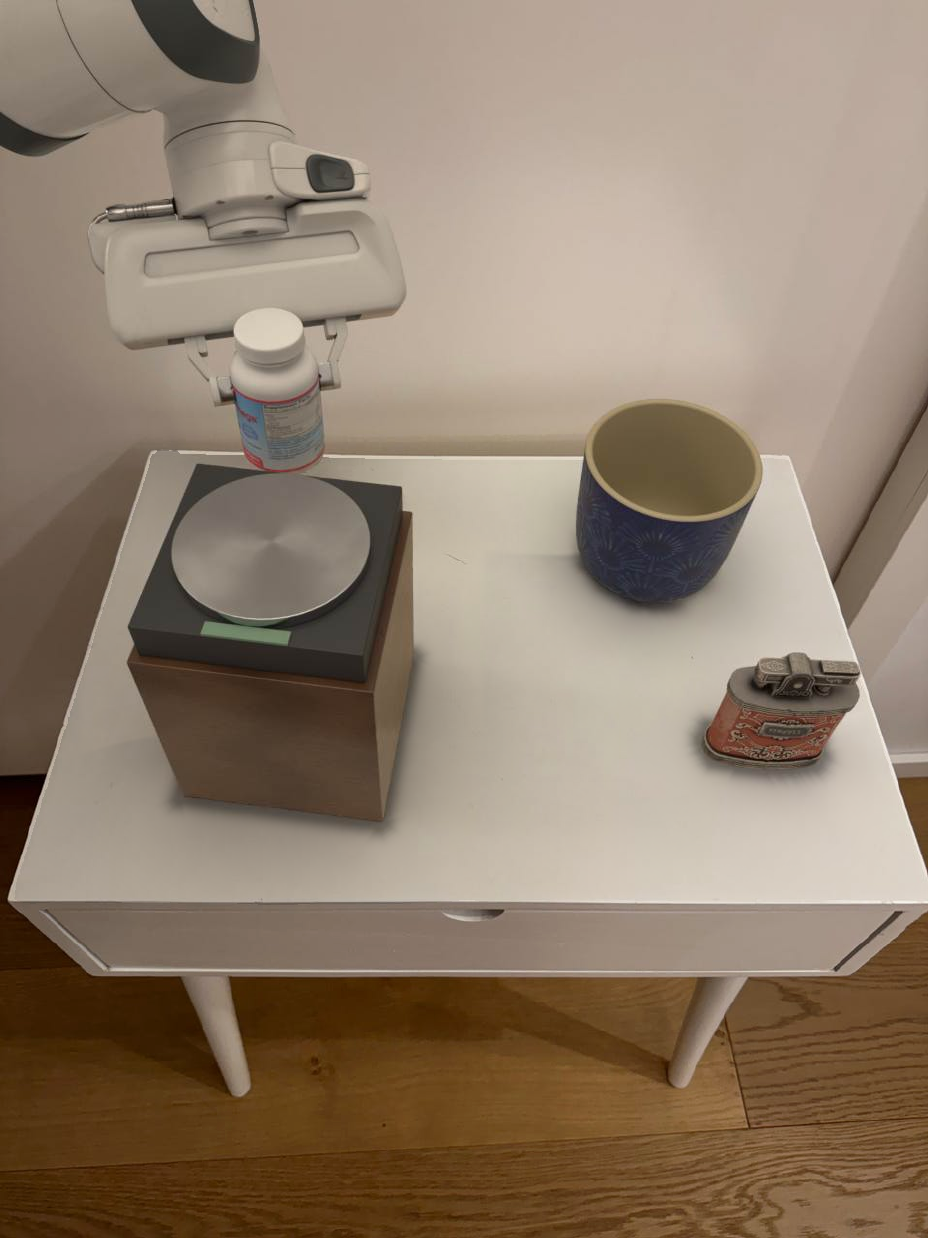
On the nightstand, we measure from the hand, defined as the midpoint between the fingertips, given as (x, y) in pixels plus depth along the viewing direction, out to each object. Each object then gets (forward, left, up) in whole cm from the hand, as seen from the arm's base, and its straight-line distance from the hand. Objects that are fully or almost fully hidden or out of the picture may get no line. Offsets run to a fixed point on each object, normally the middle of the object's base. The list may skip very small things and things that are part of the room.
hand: (279, 396), depth 67 cm
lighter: (+36, -16, -12) cm, 41 cm away
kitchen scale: (+5, -19, +3) cm, 20 cm away
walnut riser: (+5, -19, -12) cm, 23 cm away
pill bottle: (0, +1, -6) cm, 6 cm away
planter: (+28, 0, -12) cm, 30 cm away
